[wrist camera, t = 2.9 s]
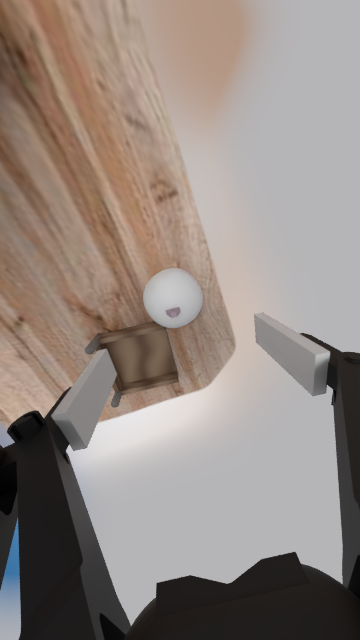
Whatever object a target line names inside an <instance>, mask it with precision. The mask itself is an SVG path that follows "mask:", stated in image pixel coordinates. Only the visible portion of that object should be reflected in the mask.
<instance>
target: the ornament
mask: <svg viewBox="0 0 360 640" xmlns="http://www.w3.org/2000/svg"><path fill="white" fill-rule="evenodd" d="M143 302H144V306H145V309H146V311H147V312H148V314H149V315H150V317H151V318H152V319H153V320H154V321H155V322H157V323H158V324H160V325H162V326H164V327H167V328H179V327H182V326H185V325H187V324H188V323H190V322H191V321H192V320H194V319H195V317H196V316H197V315H198V313H199V312H200V310H201V307H202V304H203V294H202V290H201V288H200V286H199V284H198V282H197V281H196V279H195V278H194V277H193V276H192V275H191V274H189V273H188V272H186V271H185V270H182V269H179V268H168V269H165V270H162V271H160V272H158V273H157V274H156V275H154V276H153V277H152V278H151V279H150V280H149V282H148V283H147V285H146V287H145V289H144V293H143Z"/></svg>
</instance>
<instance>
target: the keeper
mask: <svg viewBox="0 0 360 640" xmlns="http://www.w3.org/2000/svg"><path fill="white" fill-rule="evenodd" d="M103 349H107V351H108V353H109V356H110V358H111V361H112V363H113V365H114V368H115V370H116V373H117V376H116V378H115V381H114V383H113V389H114V391H115V394H114V397H113V399H112V402H111V406H112V407H118V405H119V402H120V399H121V396H122V395H124V394H128V393H133V392H137V391H141V390H146V389H150V388H154V387H158V386H163V385H167V384H171V383H176V382H178V373H177V370H176V366H175V362H174V358H173V355H172V351H171V347H170V344H169V340H168V336H167V333H166V329H165V327H164V326H162V325H160V324H158V323H157V322H151V323H147V324H143V325H138V326H134V327H130V328H125V329H121V330H117V331H112V332H108V333H104V334H102V333H99V334H97V336H96V337H95V338H94V339H93V340H92V341H91V343H90V344H89V345H88V346H87V347H86V349H85V351H86V353H88V354H93V353H94V352H95V350H96V351H99V350H103Z"/></svg>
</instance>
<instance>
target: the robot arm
mask: <svg viewBox="0 0 360 640" xmlns="http://www.w3.org/2000/svg"><path fill="white" fill-rule="evenodd" d="M254 319H255V332H256V343H257V344H259V345H260V346H261V347H262V348H263V349H264V350H265V351H266V352H267V353H268V354H269V355H270V356H271V357H272V358H273V359H274V360H275V361H276V362H277V363H279V364H280V365H281V366H282V367H283V368H284V369H285V370H286V371H287V372H288V373H289V374H290V375H291V376H292V377H293V378H294V379H295V380H296V381H297V382H298V383H299V384H300V385H302V386H303V387H304V388H305V389H306V390H307V391H308V392H309V393H310V394H311V395H312V396H316V395H320V394H325V393H326V388H327V385H328V386H330V387H331V388H332V389H333V396H332V404H331V405H333V406H334V422H335V437H336V452H337V465H338V480H339V495H340V511H341V526H342V541H343V559H342V576H343V585H342V584H341V583H340V582H338V581H336V580H335V579H334V578H332V577H331V576H329V575H327V574H325V573H324V572H322V571H320V570H318V569H315V568H313V567H310V566H308V565H303V564H301V563H300V561H299V559H298V557H297V554H296V552H292V553H288V554H284V555H279V556H274V557H270V558H265V559H262V560H260V561H259V562H257V563H256V564H255V565H254V566H252V567H251V568H250V569H248V570H247V571H246V572H245V573H243V574H242V575H241V576H239V577H238V578H237V579H236V580H235V581H233V582H232V583H229V584H225V583H221V582H217V581H212V580H208V579H203V578H199V577H195V576H191V575H190V576H186V577H181V578H177V579H173V580H168V581H164V582H160V583H157V588H156V598H155V599H153V600H152V601H151V602H150V603H149V604H148V605H147V606H146V607H145V608H144V610H143V611H142V612H141V613H140V615H139V616H138V617H137V618H136V620H135V622H134V623H133V625H132V626H131V625H130V623H129V620H128V618H127V616H126V613H125V612H124V610H123V608H122V606H121V604H120V602H119V599H118V597H117V595H116V592H115V589H114V586H113V583H112V581H111V578H110V575H109V572H108V569H107V566H106V563H105V560H104V557H103V555H102V552H101V549H100V546H99V543H98V540H97V537H96V534H95V531H94V529H93V526H92V523H91V520H90V517H89V514H88V511H87V508H86V506H85V502H84V500H83V497H82V494H81V491H80V488H79V485H78V482H77V479H76V476H75V474H74V471H73V468H72V465H71V462H70V459H69V456H68V454H67V453H66V449H67V447H68V445H69V444H70V446H71V447H72V449H73V451H75V450H80V449H84V448H87V446H88V444H89V441H90V439H91V437H92V434H93V431H94V429H95V427H96V425H97V422H98V420H99V417H100V415H101V412H102V410H103V408H104V405H105V403H106V400H107V398H108V395H109V393H110V391H111V388H112V386H113V383H114V381H115V378H116V376H117V373H116V370H115V368H114V365H113V363H112V361H111V358H110V356H109V353H108V351H107V349H103V350H99V351H97V353H96V354H95V355H94V357H93V358H92V360H91V361H90V362H89V364H88V365H87V367H86V368H85V369H84V371H83V372H82V373H81V375H80V376H79V378H78V379H77V380H76V382H75V383H74V385H73V386H72V387H70V388H68V389H67V390H66V391H65V392H64V393H63V394H62V395H61V397H60V398H59V400H58V401H57V402H56V403H55V405H54V406H53V407H52V409H51V410H50V411H49V413H48V414H47V415H46V417H45V418H43V417H42V415H41V414H40V413H39V411H31V412H28V413H26V414H24V415H23V416H21V417H20V418H18V419H17V420H16V421H14V422H13V423H12V424H11V425H10V427H9V428H8V430H7V433H8V434H9V435H10V436H11V438H12V439H13V440H14V442H15V443H13V444H11V445H9V446H7V447H5V448H3V447H2V446H1V445H0V589H1V584H2V581H3V577H4V572H5V568H6V564H7V560H8V556H9V552H10V547H11V543H12V539H13V535H14V531H15V526H16V522H17V518H18V527H19V528H18V529H19V561H20V563H19V564H20V600H21V634H20V637H19V640H360V353H355V352H341V351H339V350H337V349H335V348H334V347H332V346H330V345H328V344H326V343H324V342H323V341H321V340H318V339H317V338H315V337H313V336H312V335H308V334H304V333H300V334H299V333H297V332H295V331H294V330H292V329H290V328H289V327H287V326H285V325H283V324H282V323H280V322H278V321H276V320H275V319H273V318H271V317H269V316H268V315H266V314H264V313H259V314H255V315H254Z"/></svg>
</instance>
